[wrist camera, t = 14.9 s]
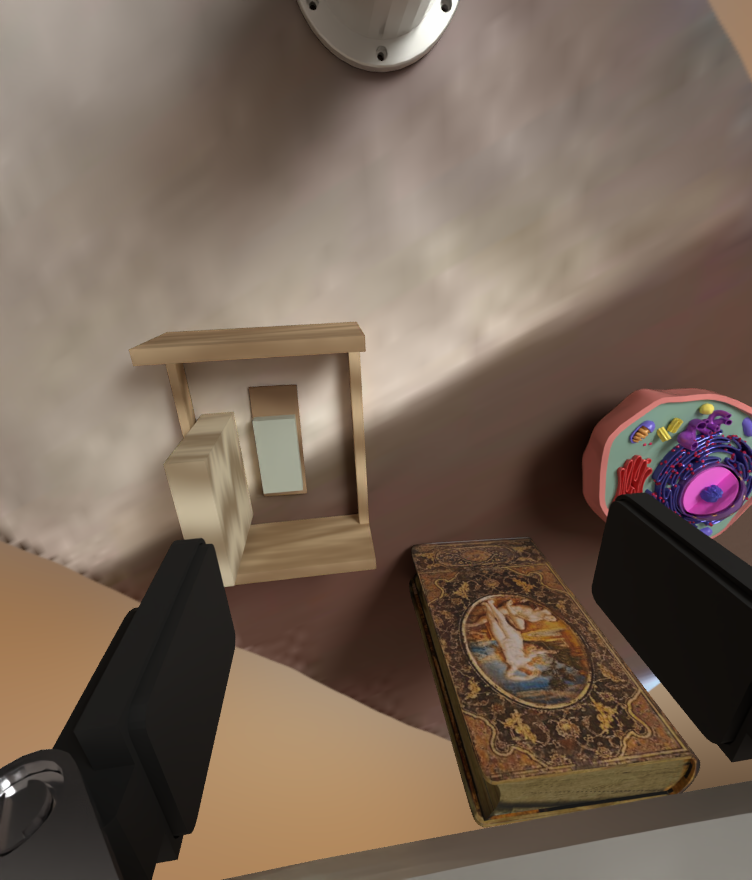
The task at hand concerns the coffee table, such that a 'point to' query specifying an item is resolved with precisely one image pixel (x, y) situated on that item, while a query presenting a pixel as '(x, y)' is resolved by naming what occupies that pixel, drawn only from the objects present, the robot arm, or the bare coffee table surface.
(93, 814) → the robot arm
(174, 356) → the pine rack
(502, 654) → the book
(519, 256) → the coffee table surface
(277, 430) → the offcut slab top
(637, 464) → the cell model
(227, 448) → the birch sheet
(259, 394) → the offcut slab bottom
